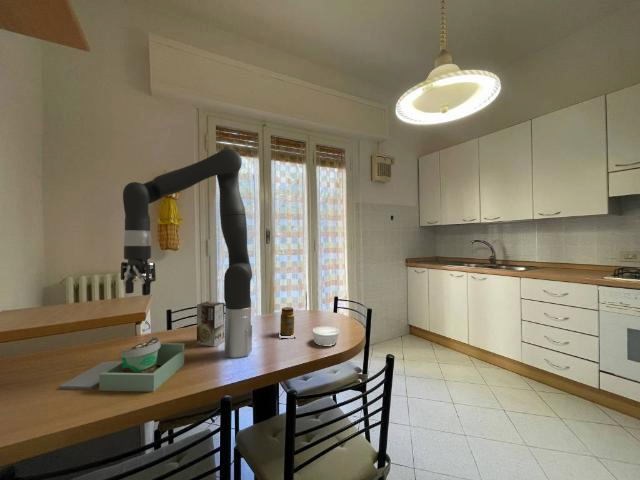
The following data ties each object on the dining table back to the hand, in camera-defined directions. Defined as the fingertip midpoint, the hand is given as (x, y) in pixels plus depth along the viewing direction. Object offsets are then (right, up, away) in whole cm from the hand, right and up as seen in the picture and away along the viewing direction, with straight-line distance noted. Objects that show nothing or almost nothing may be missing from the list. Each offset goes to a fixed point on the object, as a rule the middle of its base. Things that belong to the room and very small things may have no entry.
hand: (137, 294), depth 91 cm
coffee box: (+15, -25, +22) cm, 36 cm away
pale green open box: (+6, -24, -6) cm, 25 cm away
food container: (+6, -24, -6) cm, 26 cm away
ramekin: (+62, -25, +24) cm, 71 cm away
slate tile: (-8, -24, -6) cm, 26 cm away
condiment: (+45, -25, +32) cm, 61 cm away
